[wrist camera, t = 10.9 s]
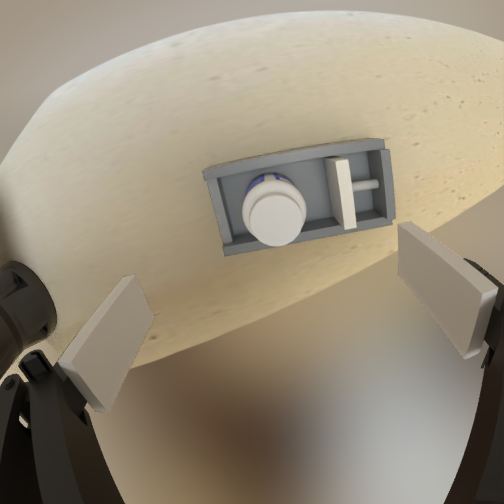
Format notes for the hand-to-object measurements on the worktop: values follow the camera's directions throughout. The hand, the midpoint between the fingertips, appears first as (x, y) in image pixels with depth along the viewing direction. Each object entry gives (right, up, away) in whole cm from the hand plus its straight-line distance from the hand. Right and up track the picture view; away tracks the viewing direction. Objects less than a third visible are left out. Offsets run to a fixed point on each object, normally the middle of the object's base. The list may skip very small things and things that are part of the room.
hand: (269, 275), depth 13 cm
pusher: (+10, +8, +15) cm, 20 cm away
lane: (+4, +8, +17) cm, 19 cm away
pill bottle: (+1, +7, +17) cm, 18 cm away
